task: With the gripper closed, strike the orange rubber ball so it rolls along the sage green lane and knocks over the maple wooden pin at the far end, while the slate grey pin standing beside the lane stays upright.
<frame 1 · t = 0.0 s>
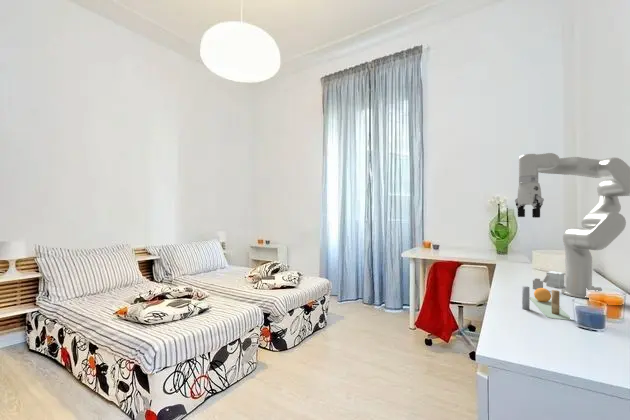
hand: (528, 217, 144), 37 cm above the table, tool pointing down, fingers open, 9 cm apart
skincare box: (555, 286, 160), on the table
grey stepped block: (541, 289, 154), on the table
lane: (548, 307, 126), on the table
grey pin: (525, 308, 124), on the table
ball: (542, 294, 134), on the table
maple pin: (555, 314, 118), on the table
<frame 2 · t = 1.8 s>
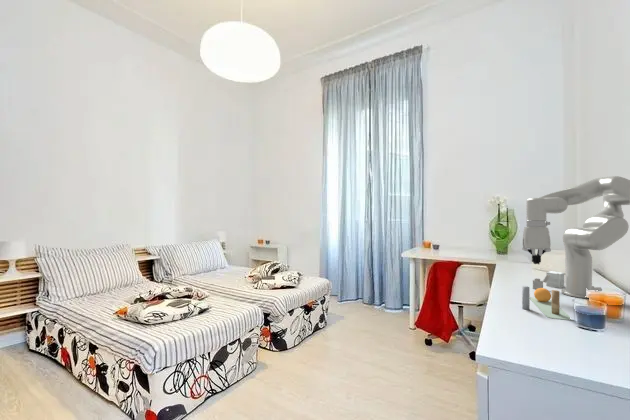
hand: (536, 263, 143), 15 cm above the table, tool pointing down, fingers closed
nothing on the table moved.
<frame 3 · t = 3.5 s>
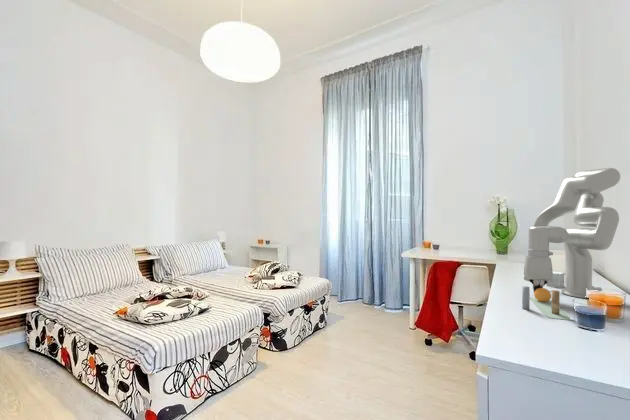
hand: (537, 294, 138), 2 cm above the table, tool pointing down, fingers closed
ball: (542, 294, 134), on the table, touching gripper
everything else where it was.
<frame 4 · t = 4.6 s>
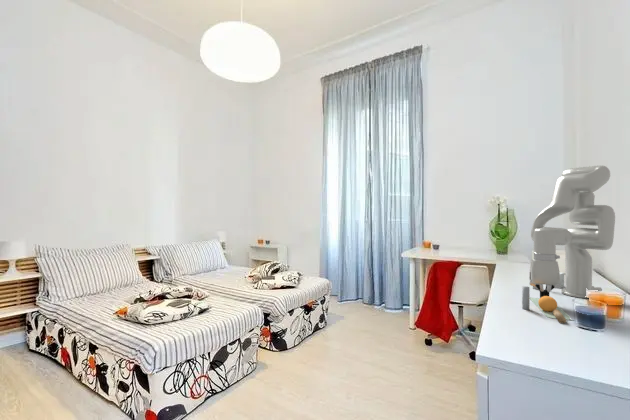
hand: (544, 300, 131), 2 cm above the table, tool pointing down, fingers closed
ball: (547, 303, 121), on the table
maple pin: (556, 312, 117), point 1 cm above the table, tilted 90°
everything else where it was.
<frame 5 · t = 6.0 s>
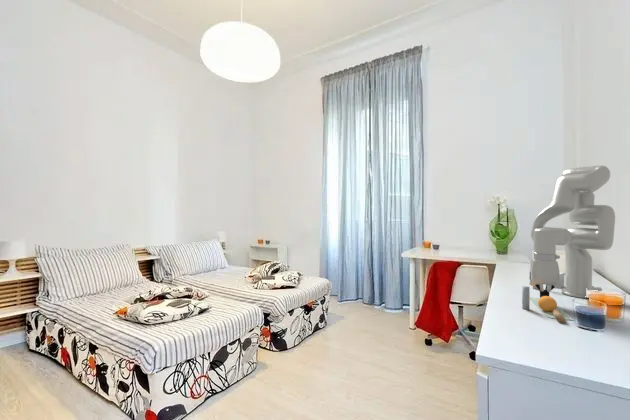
hand: (544, 300, 131), 2 cm above the table, tool pointing down, fingers closed
nothing on the table moved.
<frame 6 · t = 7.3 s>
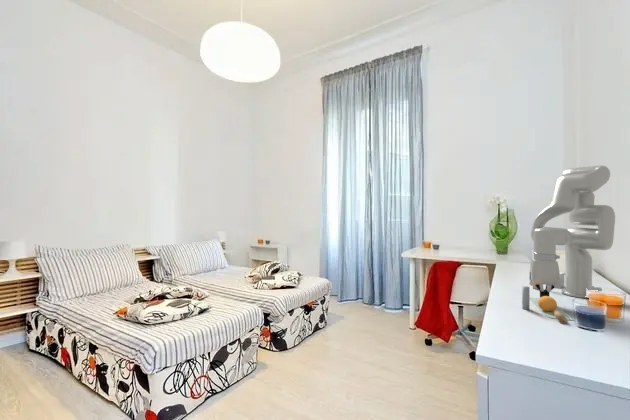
hand: (544, 300, 131), 2 cm above the table, tool pointing down, fingers closed
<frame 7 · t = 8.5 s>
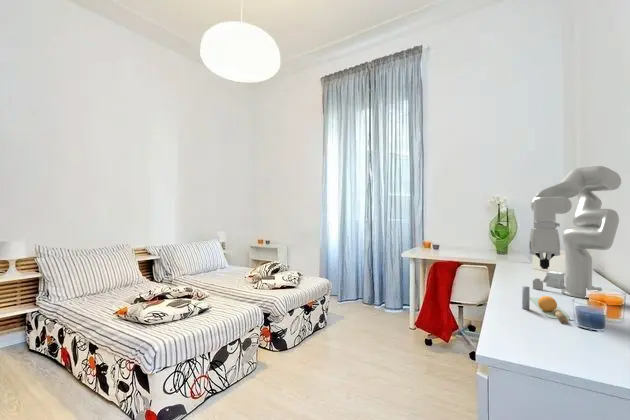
hand: (544, 268, 131), 15 cm above the table, tool pointing down, fingers closed
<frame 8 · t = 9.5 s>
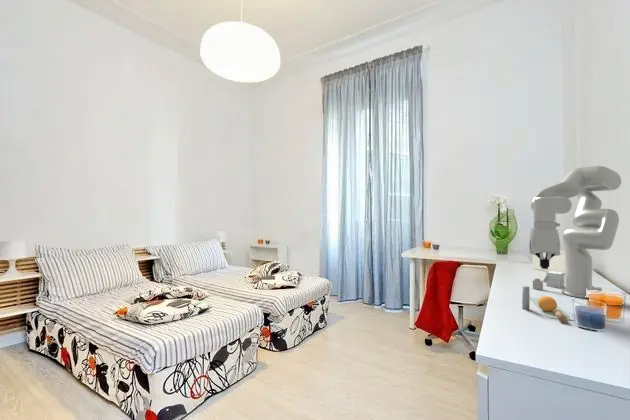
hand: (544, 268, 131), 15 cm above the table, tool pointing down, fingers closed
nothing on the table moved.
at the end: maple pin tilted 90°; maple pin never touched the robot; grey pin tilted 0° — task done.
